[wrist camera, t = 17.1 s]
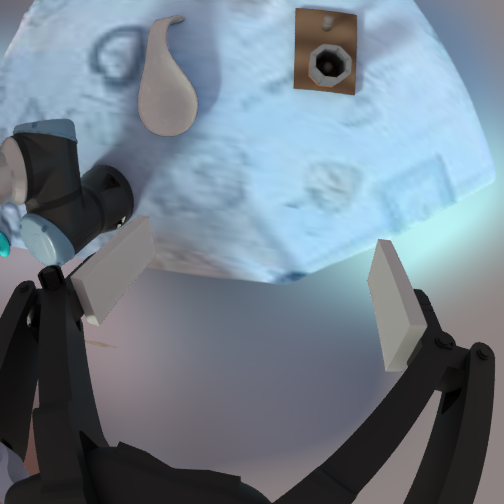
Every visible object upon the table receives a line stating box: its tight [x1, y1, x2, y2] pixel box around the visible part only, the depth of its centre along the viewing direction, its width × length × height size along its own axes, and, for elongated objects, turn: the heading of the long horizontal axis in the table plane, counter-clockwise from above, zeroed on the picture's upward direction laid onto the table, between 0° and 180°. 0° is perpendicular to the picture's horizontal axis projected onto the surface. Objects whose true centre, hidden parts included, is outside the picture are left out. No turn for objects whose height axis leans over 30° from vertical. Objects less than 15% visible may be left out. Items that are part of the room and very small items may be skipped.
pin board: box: [294, 8, 357, 95], centre depth 34 cm, size 15×10×8 cm, turn 179°
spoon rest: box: [138, 16, 198, 137], centre depth 41 cm, size 24×12×7 cm, turn 1°
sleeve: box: [308, 44, 352, 87], centre depth 34 cm, size 5×5×11 cm
